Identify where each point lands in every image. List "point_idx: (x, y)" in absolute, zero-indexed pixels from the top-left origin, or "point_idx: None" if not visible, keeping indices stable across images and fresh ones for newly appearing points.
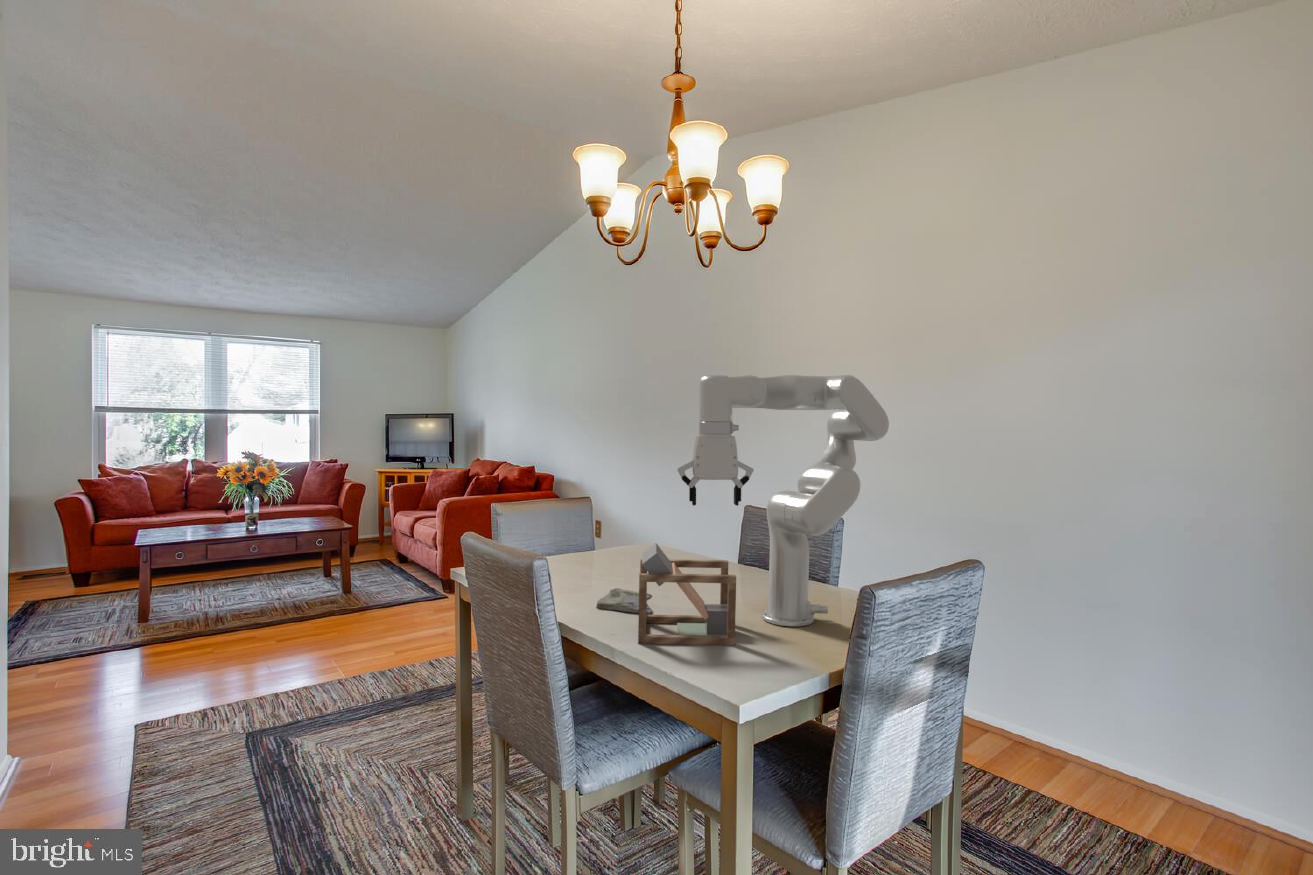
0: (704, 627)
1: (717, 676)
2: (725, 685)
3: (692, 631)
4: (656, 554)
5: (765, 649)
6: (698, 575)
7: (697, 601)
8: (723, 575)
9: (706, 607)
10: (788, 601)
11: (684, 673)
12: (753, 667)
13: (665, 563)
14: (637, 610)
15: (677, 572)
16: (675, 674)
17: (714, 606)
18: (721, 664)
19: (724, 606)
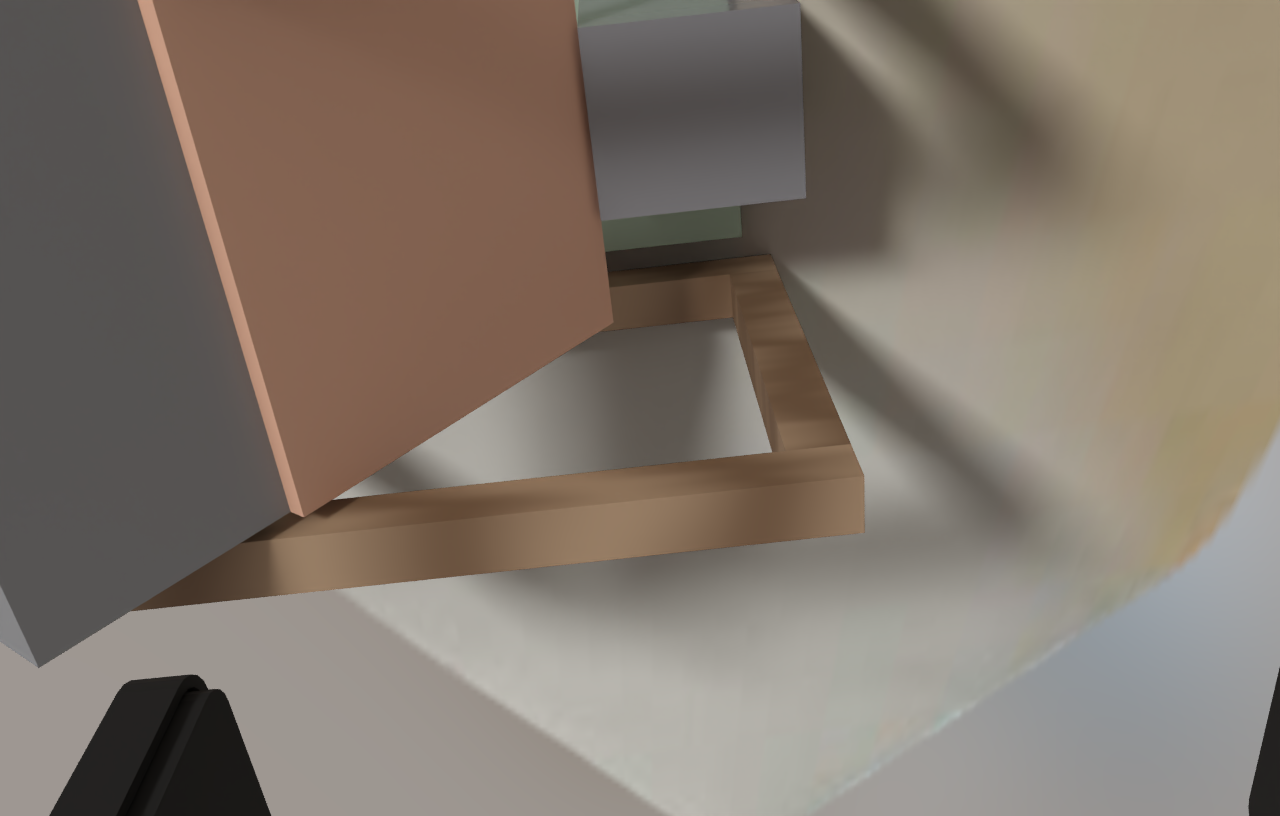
0: (576, 14)
1: (663, 677)
2: (694, 745)
3: None
4: (45, 659)
5: (943, 335)
6: (523, 555)
7: (524, 328)
8: (750, 518)
9: (591, 130)
10: None
11: (516, 671)
12: (835, 570)
13: (161, 512)
14: None
15: (285, 294)
16: (478, 685)
17: (656, 91)
18: (684, 560)
19: (740, 75)
